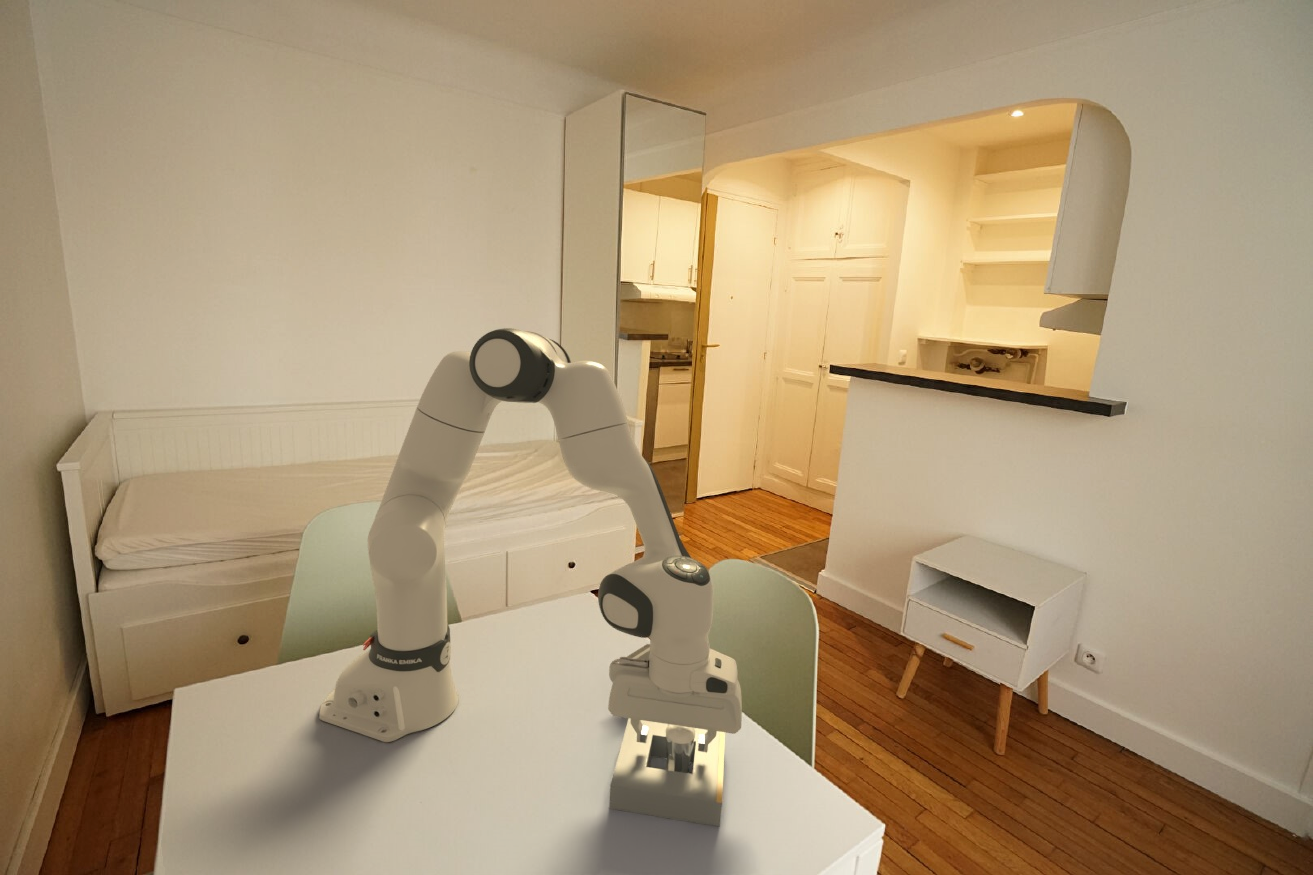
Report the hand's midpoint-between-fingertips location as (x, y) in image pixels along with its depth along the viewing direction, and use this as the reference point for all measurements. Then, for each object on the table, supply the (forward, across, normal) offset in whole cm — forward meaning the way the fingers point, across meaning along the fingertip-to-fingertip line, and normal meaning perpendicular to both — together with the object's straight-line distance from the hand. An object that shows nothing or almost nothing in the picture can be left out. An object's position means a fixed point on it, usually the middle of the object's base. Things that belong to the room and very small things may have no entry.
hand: (672, 744), depth 94 cm
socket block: (+6, 0, 0) cm, 6 cm away
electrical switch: (+6, -7, +19) cm, 21 cm away
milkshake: (+6, +1, 0) cm, 6 cm away
